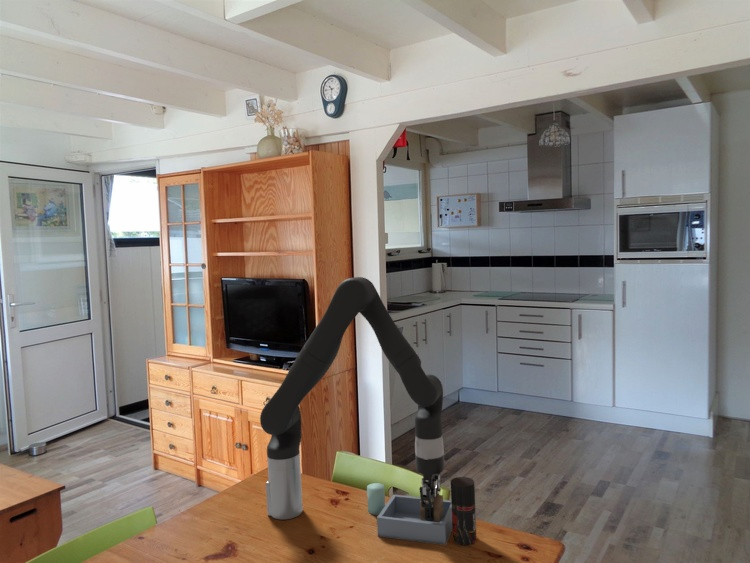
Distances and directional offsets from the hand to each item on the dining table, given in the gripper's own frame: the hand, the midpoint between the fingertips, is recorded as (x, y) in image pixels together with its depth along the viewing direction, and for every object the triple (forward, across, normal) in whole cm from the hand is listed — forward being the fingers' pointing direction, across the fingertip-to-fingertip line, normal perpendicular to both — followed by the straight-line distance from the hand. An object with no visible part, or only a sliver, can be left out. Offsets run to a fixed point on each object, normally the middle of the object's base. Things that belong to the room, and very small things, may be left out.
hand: (432, 515), depth 146 cm
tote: (+4, 0, -4) cm, 6 cm away
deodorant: (+4, +3, +9) cm, 10 cm away
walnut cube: (0, 0, 0) cm, 0 cm away
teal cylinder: (+4, -6, -18) cm, 20 cm away
